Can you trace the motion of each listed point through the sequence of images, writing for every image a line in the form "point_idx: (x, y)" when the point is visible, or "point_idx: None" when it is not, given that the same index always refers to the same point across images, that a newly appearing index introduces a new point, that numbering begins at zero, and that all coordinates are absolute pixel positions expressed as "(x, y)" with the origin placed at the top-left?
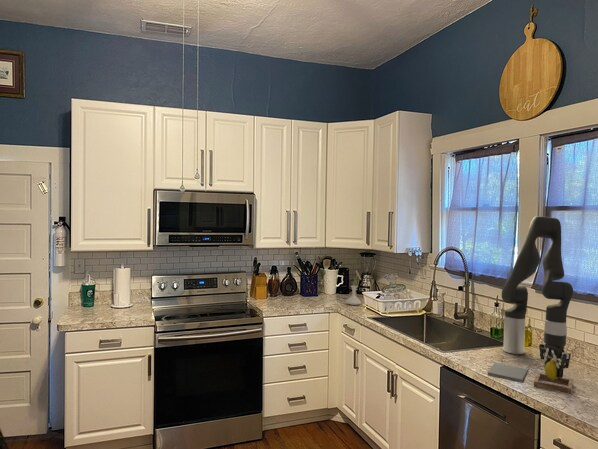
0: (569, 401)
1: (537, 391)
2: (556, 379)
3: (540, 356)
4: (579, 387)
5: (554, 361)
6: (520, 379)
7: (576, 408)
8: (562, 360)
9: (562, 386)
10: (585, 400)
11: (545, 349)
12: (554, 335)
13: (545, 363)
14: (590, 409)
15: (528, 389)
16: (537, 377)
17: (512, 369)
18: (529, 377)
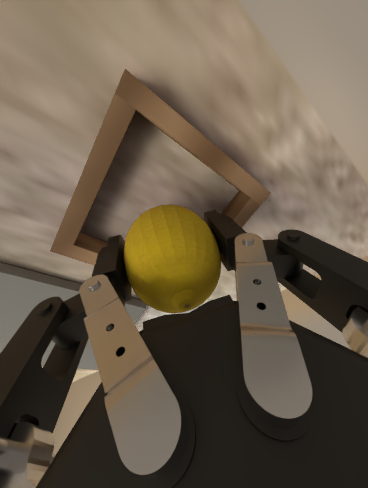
0: (301, 225)
1: (221, 282)
2: (106, 174)
3: (62, 350)
4: (171, 56)
5: (195, 296)
6: (142, 311)
7: (341, 229)
8: (333, 315)
9: (238, 216)
10: (314, 159)
11: (45, 432)
12: None
13: (125, 298)
14: (364, 191)
15: (206, 299)
16: None
17: (16, 317)
18: (75, 268)
